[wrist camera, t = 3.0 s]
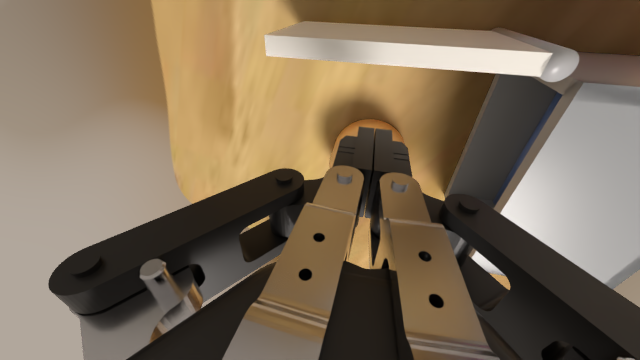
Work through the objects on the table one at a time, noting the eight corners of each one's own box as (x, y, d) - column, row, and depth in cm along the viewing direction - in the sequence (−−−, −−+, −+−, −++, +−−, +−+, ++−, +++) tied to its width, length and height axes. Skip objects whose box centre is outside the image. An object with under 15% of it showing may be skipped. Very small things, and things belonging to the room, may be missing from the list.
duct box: (662, 56, 17) (863, 104, 10) (544, 209, 25) (605, 294, 18) (507, 47, 18) (583, 82, 11) (444, 195, 27) (465, 268, 20)
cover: (510, 28, 17) (587, 49, 11) (501, 50, 18) (566, 83, 12) (305, 17, 20) (263, 30, 13) (305, 37, 21) (266, 59, 14)
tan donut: (412, 123, 23) (416, 138, 20) (396, 184, 27) (397, 202, 25) (336, 115, 24) (331, 128, 22) (332, 174, 28) (327, 191, 26)
